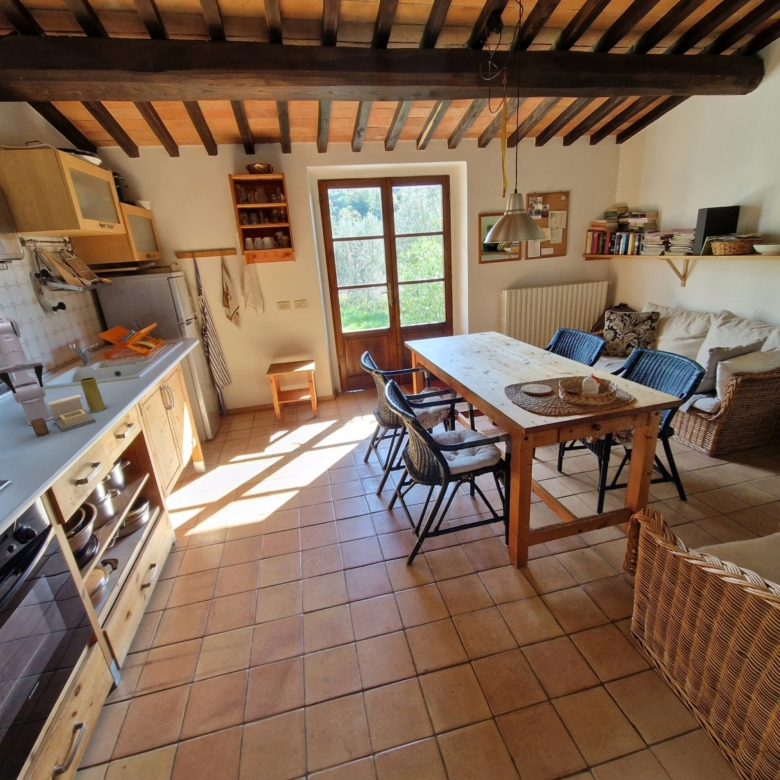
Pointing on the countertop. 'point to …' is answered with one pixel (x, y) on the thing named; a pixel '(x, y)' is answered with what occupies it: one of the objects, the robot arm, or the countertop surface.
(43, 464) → the countertop surface
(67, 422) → the socket stand
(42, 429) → the peg
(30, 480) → the countertop surface
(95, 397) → the vase
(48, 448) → the countertop surface
